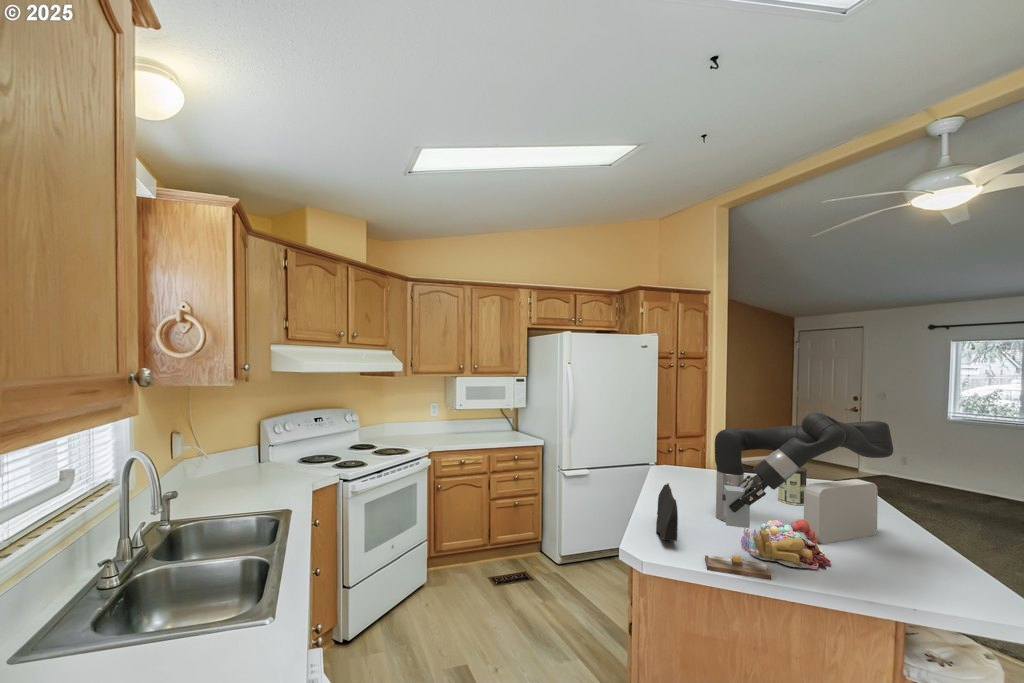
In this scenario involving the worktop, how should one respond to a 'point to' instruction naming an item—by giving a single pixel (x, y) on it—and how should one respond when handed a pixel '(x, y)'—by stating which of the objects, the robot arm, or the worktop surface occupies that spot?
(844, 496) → the rounded-edge off-white block
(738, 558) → the latch tab
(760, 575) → the DIN rail board
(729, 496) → the breaker module
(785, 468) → the robot arm
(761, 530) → the candy landscape model
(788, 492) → the coffee can
